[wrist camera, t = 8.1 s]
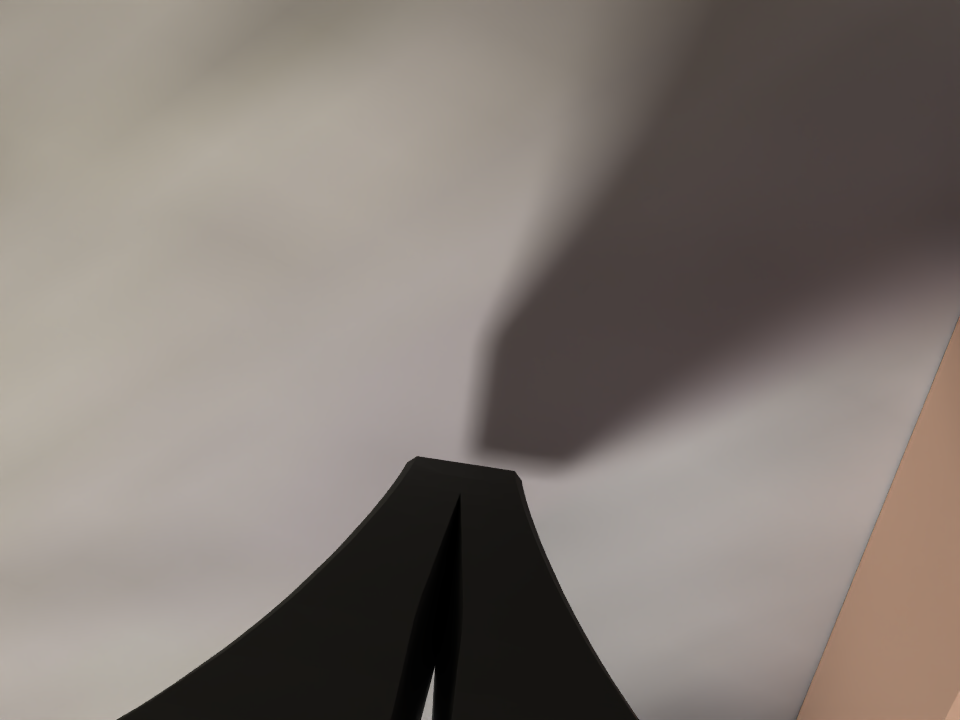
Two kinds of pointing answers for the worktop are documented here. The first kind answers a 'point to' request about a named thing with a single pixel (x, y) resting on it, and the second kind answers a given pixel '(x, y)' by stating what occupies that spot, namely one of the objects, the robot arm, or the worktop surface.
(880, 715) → the peach open box
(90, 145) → the worktop surface
